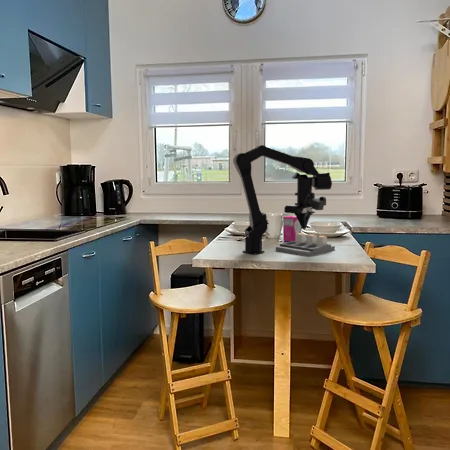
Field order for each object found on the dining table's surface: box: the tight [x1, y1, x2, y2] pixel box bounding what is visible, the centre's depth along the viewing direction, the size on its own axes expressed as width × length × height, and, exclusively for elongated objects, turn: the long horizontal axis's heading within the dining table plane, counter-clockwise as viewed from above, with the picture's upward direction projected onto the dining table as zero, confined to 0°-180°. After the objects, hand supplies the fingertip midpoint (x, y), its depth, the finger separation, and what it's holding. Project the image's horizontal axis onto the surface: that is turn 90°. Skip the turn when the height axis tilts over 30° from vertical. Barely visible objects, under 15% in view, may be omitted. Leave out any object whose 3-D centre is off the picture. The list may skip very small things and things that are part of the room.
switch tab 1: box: [295, 232, 306, 244], centre depth 191 cm, size 3×3×4 cm
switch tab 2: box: [306, 234, 318, 245], centre depth 187 cm, size 3×3×4 cm
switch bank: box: [275, 241, 336, 257], centre depth 185 cm, size 18×16×2 cm
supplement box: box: [282, 215, 301, 243], centre depth 204 cm, size 6×6×12 cm
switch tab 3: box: [316, 235, 328, 247], centre depth 184 cm, size 3×3×4 cm
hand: (303, 229), depth 183 cm, fingers closed
